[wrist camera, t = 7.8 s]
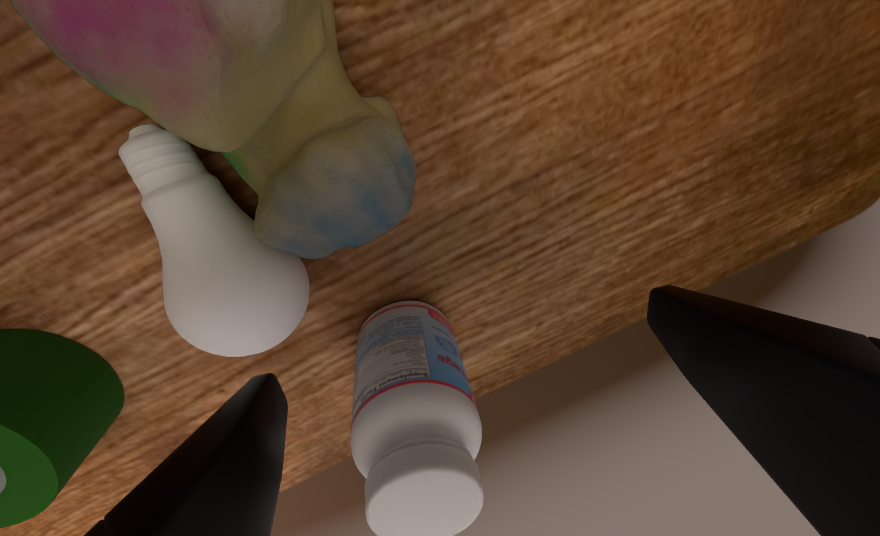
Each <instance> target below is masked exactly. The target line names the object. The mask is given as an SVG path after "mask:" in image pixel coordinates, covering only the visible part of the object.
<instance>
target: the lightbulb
mask: <svg viewBox="0 0 880 536" xmlns="http://www.w3.org/2000/svg"><path fill="white" fill-rule="evenodd" d="M118 154H119V156H120V158H121V160H122V161H123V163H124V165H125V167H126V168H127V171H128V173H129V174H130V175H131V177H132V179H133V182H134V184H136V186H137V188H138V189H139V191H140V193H141V195H142V201H141V205H142V208H143V210H144V211H145V213H146V215H147V217H148V218H149V220H150V222H151V224H152V227H153V229H154V232H155V234H156V237H157V239H158V242H159V247H160V252H161V257H162V285H163V296H164V307H165V310H166V313H167V315H168V318H169V321H170V323H171V324H172V326H173V327H174V329H175V330H176V332H177V333H178V334H179V335H180V336H181V337H183V338H184V339H185V340H186V341H187V342H188V343H190V344H192V345H193V346H195V347H196V348H198V349H200V350H203V351H206V352H209V353H212V354H215V355H220V356H225V357H241V356H248V355H253V354H258V353H261V352H264V351H266V350H268V349H271V348H272V347H274V346H276V345H278V344H279V343H281V342H282V341H284V340H285V339H286V338H287V337H288V336H289V335H290V334H291V333H292V332H293V331H294V330H295V328H296V327H297V326H298V325H299V323H300V321H301V320H302V318H303V316H304V314H305V312H306V309H307V305H308V301H309V293H310V285H309V278H308V274H307V271H306V268H305V266H304V264H303V262H302V260H301V258H300V257H299V256H298V255H295V254H293V253H290V252H287V251H283V250H279V249H276V248H274V247H271V246H269V245H267V244H265V243H263V242H261V241H260V239H259V238H258V237H257V236H256V234H255V231H254V220H253V219H251V218H250V217H249V216H248V215H247V214H246V213H245V212H244V211H242V210H241V209H240V208H239V206H238V205H237V204H236V203H235V202H234V201H233V199H232V198H231V197H230V196H229V195H228V193H227V192H226V190H225V189H224V187H223V186H222V184H221V183H220V181H219V180H218V179H217V178H216V177H215V176H213V175H211V174H209V173H208V172H207V170H206V169H205V167H204V165H203V163H202V162H201V161H200V159H199V158H198V155H197V154H196V153H195V152H194V150H193V149H192V146H191V145H190V144H189V143H188V141H186V140H184V139H182V138H180V137H178V136H176V135H174V134H172V133H170V132H169V131H168V130H163V129H161V128H160V127H158V126H156V125H154V124H147V125H140V126H138V127H136V128H134V129H132V130H131V131H130V132H129V138H128V141H126V142H125V143H124V144H123V145H122V146H121V147H120V149H119V153H118Z"/></svg>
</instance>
